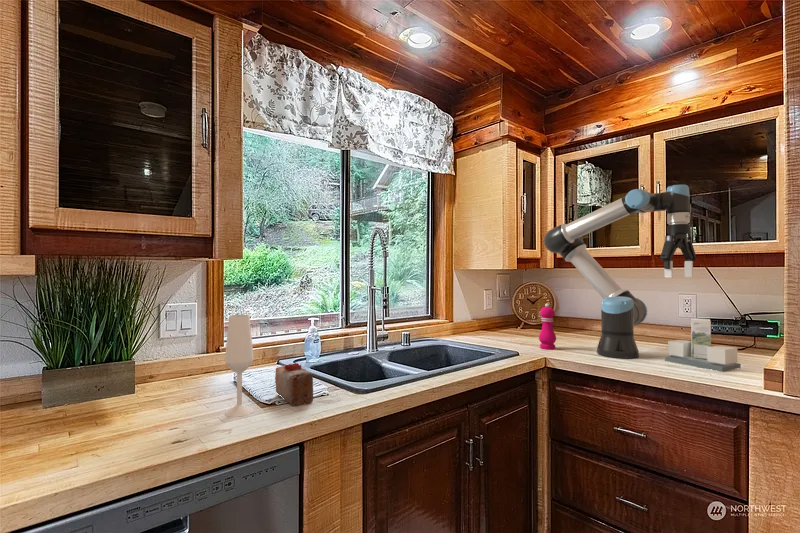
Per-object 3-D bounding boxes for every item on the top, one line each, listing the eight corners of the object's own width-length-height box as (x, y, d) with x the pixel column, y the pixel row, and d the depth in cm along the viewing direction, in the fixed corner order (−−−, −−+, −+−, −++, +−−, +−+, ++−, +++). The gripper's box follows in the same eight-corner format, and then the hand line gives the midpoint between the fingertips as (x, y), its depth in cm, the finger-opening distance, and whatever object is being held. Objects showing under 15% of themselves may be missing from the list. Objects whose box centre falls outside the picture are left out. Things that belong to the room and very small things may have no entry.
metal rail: (670, 355, 158) (670, 353, 158) (678, 354, 161) (678, 352, 161) (727, 366, 141) (727, 363, 141) (735, 364, 144) (735, 362, 144)
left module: (668, 354, 158) (668, 341, 158) (680, 352, 161) (680, 339, 161) (683, 356, 153) (683, 343, 153) (695, 354, 156) (695, 341, 156)
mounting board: (665, 360, 157) (665, 356, 157) (683, 357, 162) (683, 353, 162) (722, 371, 140) (722, 367, 140) (740, 367, 145) (740, 363, 145)
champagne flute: (221, 417, 98) (221, 317, 99) (228, 408, 105) (228, 314, 105) (251, 415, 100) (251, 316, 100) (255, 406, 106) (255, 314, 106)
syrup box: (710, 357, 152) (709, 318, 152) (711, 360, 147) (710, 319, 147) (691, 355, 155) (691, 317, 155) (691, 358, 150) (691, 318, 150)
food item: (271, 395, 116) (271, 360, 116) (298, 390, 121) (298, 356, 121) (289, 408, 105) (289, 370, 105) (318, 402, 110) (318, 365, 110)
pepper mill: (535, 348, 182) (535, 303, 182) (544, 346, 187) (543, 302, 187) (551, 350, 177) (550, 304, 177) (559, 348, 182) (558, 303, 182)
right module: (707, 361, 146) (707, 347, 146) (719, 358, 149) (719, 345, 149) (725, 364, 141) (725, 349, 141) (737, 361, 144) (737, 347, 144)
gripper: (669, 221, 155) (669, 277, 155) (706, 224, 166) (706, 277, 166) (649, 223, 162) (650, 277, 162) (686, 226, 173) (686, 276, 173)
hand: (678, 277), depth 164 cm, fingers open, 13 cm apart
